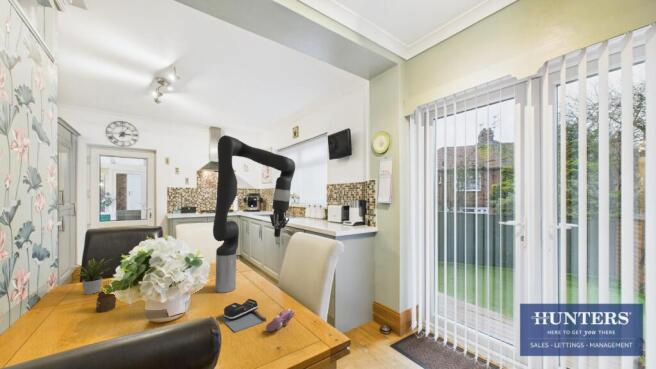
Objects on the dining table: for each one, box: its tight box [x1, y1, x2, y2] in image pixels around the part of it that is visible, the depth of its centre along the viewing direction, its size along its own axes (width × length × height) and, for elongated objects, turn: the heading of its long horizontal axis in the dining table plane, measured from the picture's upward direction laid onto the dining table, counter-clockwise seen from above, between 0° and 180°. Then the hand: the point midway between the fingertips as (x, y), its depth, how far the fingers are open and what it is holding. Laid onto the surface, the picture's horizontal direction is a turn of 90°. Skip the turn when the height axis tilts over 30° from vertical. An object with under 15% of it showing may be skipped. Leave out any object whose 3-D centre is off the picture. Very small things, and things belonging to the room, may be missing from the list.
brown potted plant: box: [95, 279, 117, 313], centre depth 102 cm, size 6×6×12 cm
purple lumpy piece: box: [265, 308, 295, 333], centre depth 89 cm, size 10×5×7 cm, turn 150°
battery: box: [223, 298, 259, 320], centre depth 98 cm, size 7×4×11 cm
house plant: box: [75, 258, 112, 295], centre depth 120 cm, size 14×14×16 cm
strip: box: [252, 309, 267, 323], centre depth 98 cm, size 14×1×1 cm, turn 43°
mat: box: [219, 312, 264, 333], centre depth 94 cm, size 14×11×1 cm
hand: (276, 236), depth 118 cm, fingers closed
